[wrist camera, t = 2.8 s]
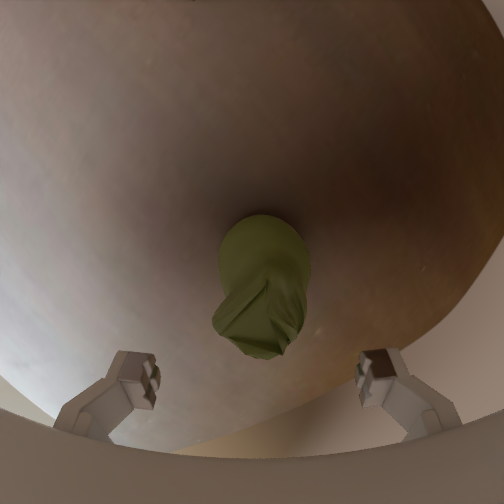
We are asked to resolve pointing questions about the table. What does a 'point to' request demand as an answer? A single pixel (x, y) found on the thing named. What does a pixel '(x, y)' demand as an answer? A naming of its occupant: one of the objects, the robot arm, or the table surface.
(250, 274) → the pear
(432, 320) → the table surface
